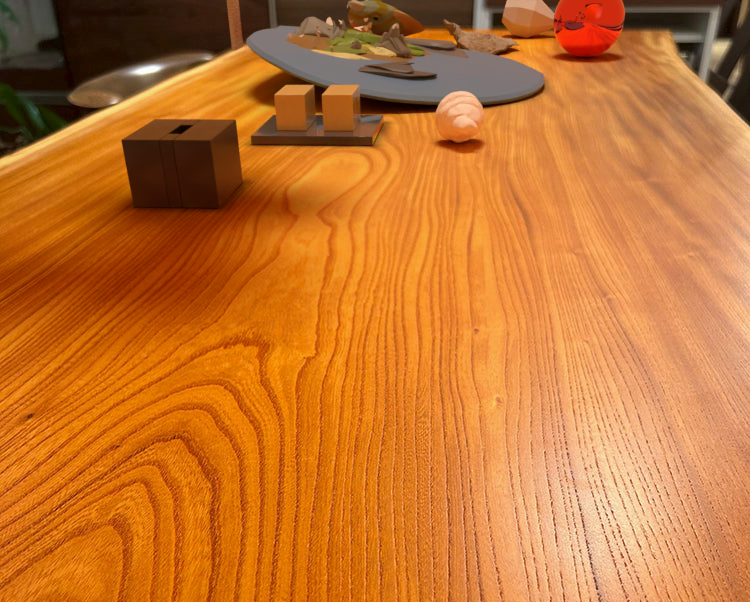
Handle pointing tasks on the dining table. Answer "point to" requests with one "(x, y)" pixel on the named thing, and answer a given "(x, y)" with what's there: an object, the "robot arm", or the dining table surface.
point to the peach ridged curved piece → (459, 116)
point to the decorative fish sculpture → (381, 18)
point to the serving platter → (392, 64)
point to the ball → (588, 25)
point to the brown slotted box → (183, 163)
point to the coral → (478, 40)
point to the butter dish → (318, 118)
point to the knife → (235, 24)
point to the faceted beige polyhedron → (527, 17)
